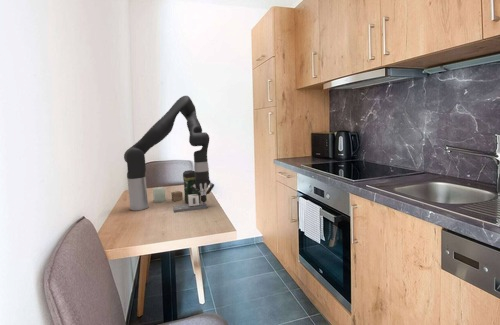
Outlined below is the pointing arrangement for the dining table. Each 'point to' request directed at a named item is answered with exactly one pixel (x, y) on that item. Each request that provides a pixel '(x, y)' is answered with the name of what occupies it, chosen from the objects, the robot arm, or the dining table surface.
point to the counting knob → (193, 199)
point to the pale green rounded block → (159, 194)
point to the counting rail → (189, 207)
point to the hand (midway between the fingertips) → (203, 202)
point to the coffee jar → (189, 184)
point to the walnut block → (177, 196)
